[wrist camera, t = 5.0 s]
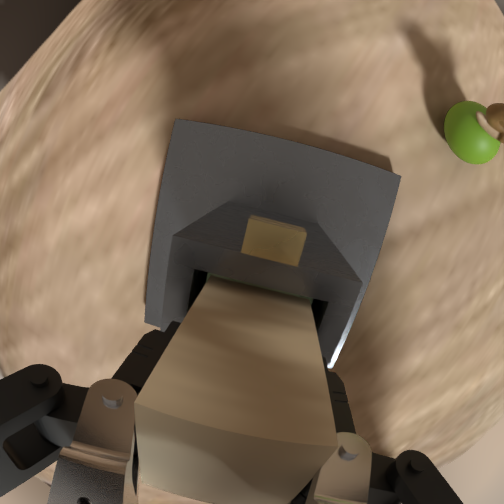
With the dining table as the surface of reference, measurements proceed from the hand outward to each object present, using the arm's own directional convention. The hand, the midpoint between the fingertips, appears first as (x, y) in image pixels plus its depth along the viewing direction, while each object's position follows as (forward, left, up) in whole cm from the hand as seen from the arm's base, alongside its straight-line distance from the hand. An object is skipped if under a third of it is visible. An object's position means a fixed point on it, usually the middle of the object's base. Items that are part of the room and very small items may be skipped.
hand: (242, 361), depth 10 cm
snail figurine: (-15, -15, -15) cm, 26 cm away
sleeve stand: (0, 0, -15) cm, 15 cm away
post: (0, 0, -13) cm, 13 cm away
